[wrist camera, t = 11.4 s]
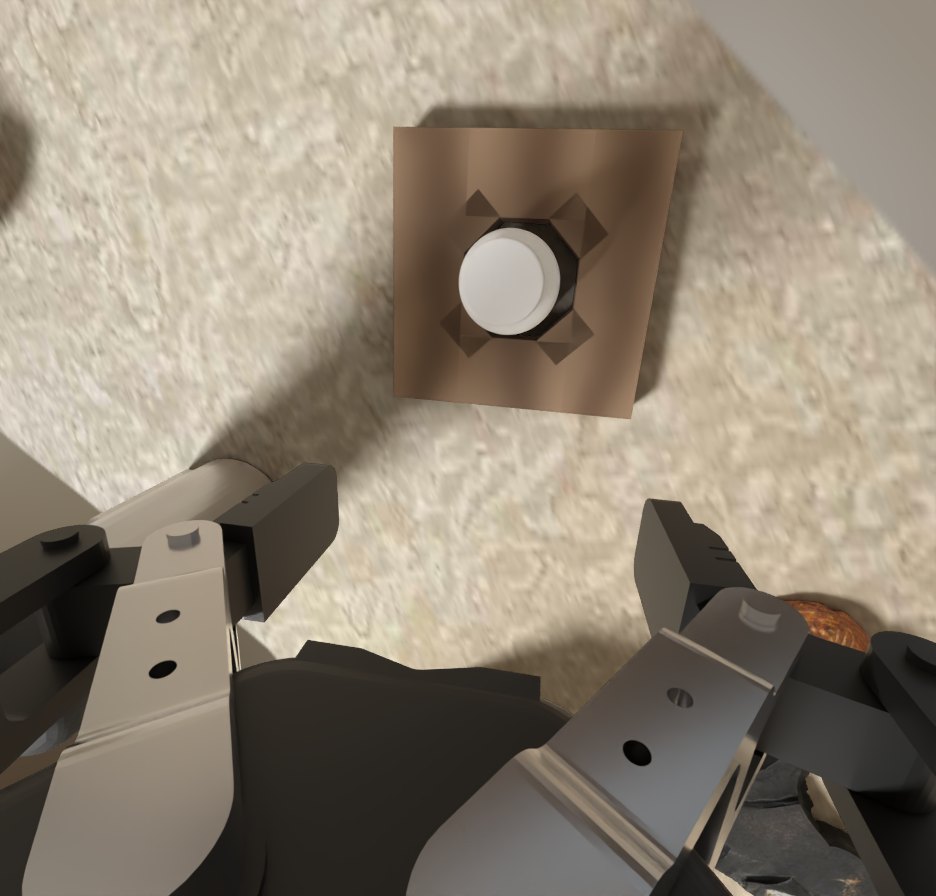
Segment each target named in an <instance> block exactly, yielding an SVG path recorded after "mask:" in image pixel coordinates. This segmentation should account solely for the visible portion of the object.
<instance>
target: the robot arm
mask: <svg viewBox="0 0 936 896" xmlns="http://www.w3.org/2000/svg"><path fill="white" fill-rule="evenodd" d="M338 526H339V510H338V492H337V476H336V471H335V468H334V467H333V466H332V465H323V464H313V463H303V464H301V465H300V466H298V467H297V468H296V469H294V470H293V471H291V472H290V473H289V474H287V475H286V476H284V477H283V478H282V479H279V480H276V481H274V482H271V481H270V480H269V479H268V477H267V476H266V475H264V474H263V473H262V472H260V471H259V470H258V469H257V468H255V467H253V466H251V465H249V464H247V463H245V462H242V461H238V460H234V459H217V460H213V461H211V462H208V463H206V464H204V465H202V466H200V467H198V468H196V469H194V470H189V469H188V470H185V471H183V472H181V473H179V474H177V475H175V476H173V477H171V478H169V479H167V480H165V481H164V482H162V483H160V484H158V485H156V486H154V487H152V488H150V489H148V490H146V491H144V492H142V493H140V494H138V495H136V496H134V497H132V498H130V499H128V500H126V501H125V502H123V503H121V504H119V505H117V506H115V507H113V508H111V509H109V510H107V511H105V512H103V513H101V514H99V515H97V516H95V517H93V518H92V519H90V520H89V522H88V523H87V525H74V526H67V527H62V528H58V529H54V530H50V531H47V532H44V533H41V534H39V535H36V536H34V537H32V538H30V539H28V540H26V541H24V542H22V543H20V544H18V545H16V546H14V547H12V548H10V549H8V550H6V551H4V552H2V553H0V774H1V773H2V772H3V771H5V770H6V769H7V768H8V767H9V766H10V765H11V764H12V763H13V762H14V761H15V760H16V759H17V758H18V757H19V756H31V755H36V754H40V753H44V752H46V751H49V750H51V749H54V748H55V747H57V746H59V745H60V744H61V743H63V742H65V741H67V740H68V739H69V738H71V737H72V736H73V735H74V734H75V733H76V732H78V731H79V730H80V731H79V734H78V737H77V739H76V741H75V743H74V744H72V745H70V746H68V747H66V748H65V749H64V751H63V752H62V754H61V756H60V758H59V760H58V761H57V762H55V763H53V764H52V765H50V766H48V767H46V768H44V769H42V770H40V771H38V772H36V773H34V774H32V775H30V776H28V777H26V778H24V779H22V780H20V781H18V782H16V783H14V784H12V785H10V786H8V787H6V788H4V789H2V790H0V896H733V895H732V894H731V893H730V892H729V890H728V889H727V888H726V887H725V886H724V884H723V883H722V882H721V881H720V879H719V878H718V877H717V876H716V875H715V873H714V872H713V871H714V868H715V866H716V863H717V861H718V858H719V856H720V853H721V851H722V848H723V846H724V843H725V841H726V839H727V836H728V834H729V832H730V830H731V828H732V825H733V823H734V821H735V819H736V817H737V815H738V813H739V811H740V809H741V807H742V805H743V803H744V801H745V799H746V797H747V794H748V792H749V790H750V788H751V786H752V784H753V782H754V780H755V778H756V776H757V774H758V772H759V770H760V768H761V766H762V763H763V761H764V759H765V757H766V754H768V755H770V756H773V757H775V758H777V759H780V760H782V761H785V762H787V763H789V764H792V765H794V766H796V767H799V768H801V769H803V770H806V771H808V772H811V773H813V774H815V775H818V776H820V777H821V778H822V780H823V783H824V785H825V787H826V789H827V791H828V793H829V795H830V797H831V799H832V801H833V803H834V805H835V807H836V809H837V811H838V813H839V815H840V817H841V819H842V821H843V823H844V825H845V827H846V829H847V832H848V834H849V836H850V838H851V840H852V842H853V844H854V846H855V848H856V850H857V852H858V854H859V856H860V858H861V860H862V862H863V864H864V866H865V868H866V870H867V872H868V874H869V876H870V878H871V880H872V882H873V884H874V886H875V888H876V890H877V892H878V894H879V896H936V643H934V642H932V641H929V640H927V639H924V638H921V637H918V636H914V635H910V634H906V633H901V632H893V631H885V632H879V633H876V634H874V635H873V636H872V638H871V640H870V643H869V645H868V648H867V650H866V652H863V651H860V650H857V649H853V648H850V647H847V646H844V645H841V644H837V643H834V642H831V641H828V640H825V639H822V638H819V637H816V636H813V635H811V634H809V633H808V632H809V625H808V623H807V621H806V619H805V618H804V617H803V616H802V614H801V613H800V612H799V611H797V610H796V609H795V608H794V607H792V606H791V605H789V604H788V603H786V602H785V601H783V600H781V599H779V598H777V597H775V596H773V595H770V594H767V593H765V592H762V591H758V590H757V589H756V588H755V586H754V585H753V583H752V582H751V580H750V579H749V578H748V576H747V575H746V573H745V572H744V570H743V569H742V567H741V566H740V564H739V563H738V562H736V559H735V557H734V556H733V554H732V553H731V551H729V548H728V547H727V546H726V544H725V543H724V541H723V540H722V538H721V537H720V536H719V535H718V534H716V533H715V532H714V531H712V530H711V529H709V528H708V527H707V526H705V525H704V524H698V523H694V522H693V521H692V519H691V518H690V516H689V514H688V513H687V511H686V509H685V508H684V506H683V505H682V503H681V502H678V501H668V500H659V499H647V500H646V502H645V504H644V508H643V513H642V519H641V524H640V530H639V535H638V541H637V546H636V552H635V558H634V577H635V582H636V586H637V589H638V593H639V596H640V599H641V603H642V606H643V610H644V613H645V616H646V620H647V623H648V627H649V630H650V633H651V637H652V638H651V639H650V640H649V641H648V642H647V643H646V644H645V645H644V646H643V647H642V648H641V649H640V650H639V651H638V652H637V653H636V654H635V655H634V656H633V657H632V658H631V659H630V660H629V661H628V662H627V663H626V664H625V665H624V666H623V667H622V668H621V669H620V670H619V671H618V672H617V673H616V674H615V675H614V676H613V677H612V678H611V679H610V680H609V681H608V682H607V683H606V684H605V685H604V686H603V687H602V688H601V689H600V690H599V691H598V692H597V693H596V694H595V695H594V696H593V697H592V698H591V699H590V700H589V701H588V702H587V703H586V704H585V705H584V706H583V707H582V708H581V709H580V710H579V711H578V712H577V713H576V714H575V715H573V714H572V713H570V712H569V711H567V710H566V709H564V708H562V707H560V706H559V705H557V704H555V703H553V702H551V701H549V700H546V699H544V698H541V697H540V677H538V676H532V675H526V674H519V673H513V672H507V671H501V670H494V669H488V668H482V667H475V668H453V669H430V670H416V669H412V668H409V667H407V666H404V665H402V664H399V663H397V662H394V661H392V660H389V659H387V658H384V657H382V656H379V655H377V654H374V653H372V652H369V651H367V650H364V649H362V648H355V647H349V646H343V645H337V644H330V643H324V642H318V641H311V640H307V642H306V643H305V645H304V646H303V647H302V649H301V650H300V652H299V653H298V655H297V656H296V658H286V659H279V660H273V661H269V662H265V663H260V664H257V665H254V666H251V667H248V668H245V669H243V670H241V665H240V654H239V645H238V635H237V628H236V624H237V623H238V622H239V621H240V619H245V620H252V621H258V622H265V621H266V620H267V619H268V617H269V616H270V615H271V614H272V613H273V612H274V610H275V609H276V608H277V607H278V606H279V605H280V603H281V602H282V601H283V600H284V599H285V598H286V596H287V595H288V594H289V593H290V592H291V590H292V589H293V588H294V587H295V586H296V585H297V583H298V582H299V581H300V580H301V579H302V578H303V576H304V575H305V574H306V573H307V572H308V570H309V569H310V568H311V567H312V566H313V565H314V563H315V562H316V561H317V560H318V559H319V558H320V556H321V555H322V554H323V553H324V552H325V550H326V549H327V548H328V547H329V546H330V545H331V543H332V542H333V541H334V539H335V537H336V534H337V531H338Z"/></svg>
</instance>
